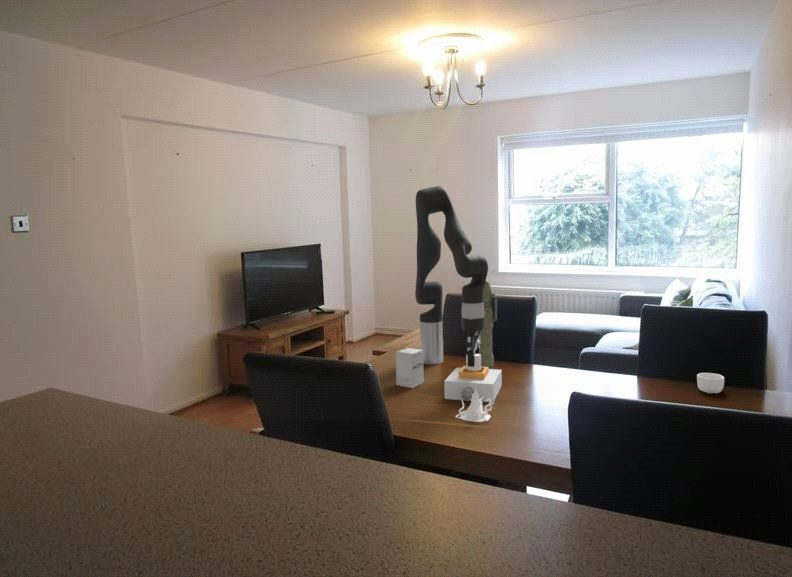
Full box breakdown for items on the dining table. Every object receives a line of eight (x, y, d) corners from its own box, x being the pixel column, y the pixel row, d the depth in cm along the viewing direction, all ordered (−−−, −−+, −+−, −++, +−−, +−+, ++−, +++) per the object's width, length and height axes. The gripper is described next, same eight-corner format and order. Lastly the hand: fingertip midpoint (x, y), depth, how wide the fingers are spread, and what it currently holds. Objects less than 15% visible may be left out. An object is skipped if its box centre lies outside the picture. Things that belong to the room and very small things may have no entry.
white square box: (456, 383, 198) (456, 361, 197) (501, 386, 193) (501, 364, 192) (441, 402, 177) (441, 378, 176) (491, 406, 172) (491, 381, 171)
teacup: (726, 396, 175) (726, 380, 174) (698, 394, 177) (699, 378, 177) (719, 387, 184) (720, 372, 183) (693, 386, 187) (694, 370, 186)
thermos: (467, 368, 219) (466, 280, 215) (498, 369, 216) (497, 280, 212) (465, 374, 210) (463, 282, 206) (497, 375, 207) (496, 282, 203)
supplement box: (412, 389, 193) (411, 353, 192) (395, 385, 198) (394, 351, 196) (424, 384, 199) (423, 349, 197) (408, 381, 203) (407, 347, 202)
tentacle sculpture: (460, 410, 169) (460, 381, 168) (499, 414, 165) (499, 384, 164) (452, 420, 161) (451, 389, 160) (493, 424, 157) (493, 393, 156)
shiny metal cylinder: (467, 381, 190) (467, 352, 189) (482, 382, 188) (482, 353, 187) (465, 385, 185) (464, 356, 184) (479, 386, 183) (479, 356, 182)
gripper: (466, 312, 192) (466, 357, 194) (457, 319, 178) (458, 368, 180) (487, 312, 189) (488, 358, 191) (480, 319, 176) (480, 369, 178)
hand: (473, 363), depth 186 cm, fingers open, 8 cm apart
